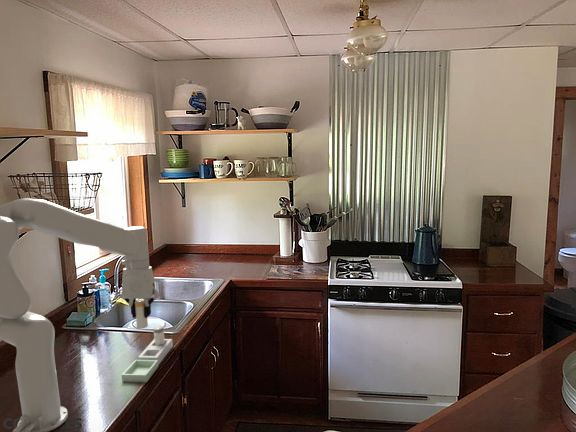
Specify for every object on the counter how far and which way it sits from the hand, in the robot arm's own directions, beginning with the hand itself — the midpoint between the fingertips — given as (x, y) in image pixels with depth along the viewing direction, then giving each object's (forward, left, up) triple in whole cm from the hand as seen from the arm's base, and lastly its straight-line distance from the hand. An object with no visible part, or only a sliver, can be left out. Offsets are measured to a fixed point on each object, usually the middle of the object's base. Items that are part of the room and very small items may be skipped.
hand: (141, 315), depth 157 cm
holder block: (+9, 0, -19) cm, 21 cm away
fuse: (+13, 0, -19) cm, 23 cm away
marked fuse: (0, 0, -4) cm, 4 cm away
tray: (-5, 0, -19) cm, 19 cm away
